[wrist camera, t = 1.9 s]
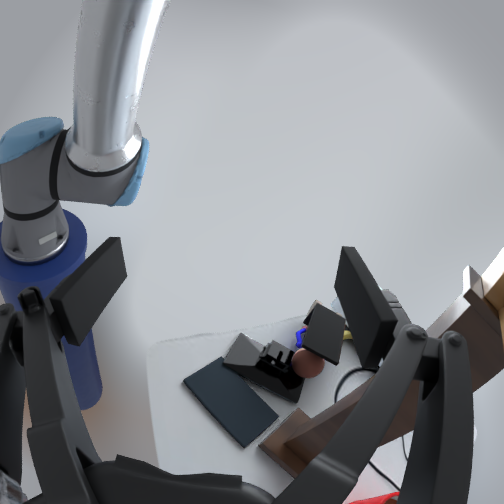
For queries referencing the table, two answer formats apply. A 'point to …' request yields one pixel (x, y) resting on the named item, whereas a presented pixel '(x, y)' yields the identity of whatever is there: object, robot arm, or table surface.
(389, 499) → the mug
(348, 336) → the banana
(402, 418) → the stand
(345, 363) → the table surface
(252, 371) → the black angular block
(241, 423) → the mat
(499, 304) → the wooden toy mallet
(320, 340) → the figurine character
